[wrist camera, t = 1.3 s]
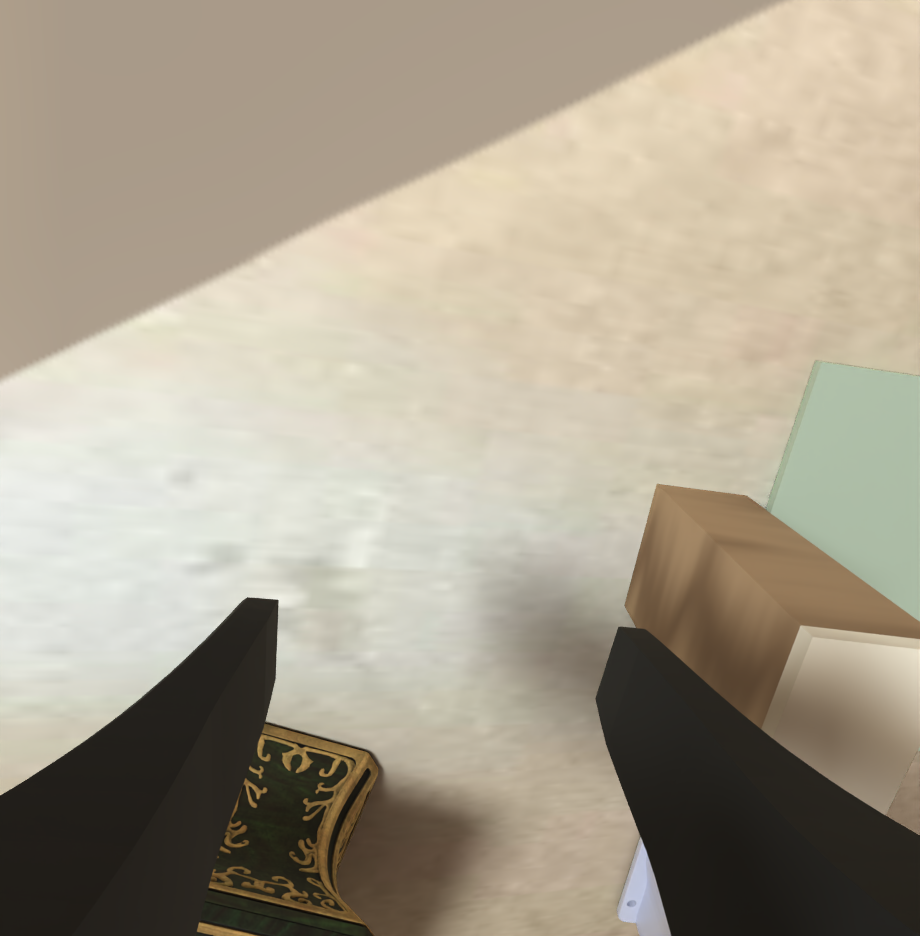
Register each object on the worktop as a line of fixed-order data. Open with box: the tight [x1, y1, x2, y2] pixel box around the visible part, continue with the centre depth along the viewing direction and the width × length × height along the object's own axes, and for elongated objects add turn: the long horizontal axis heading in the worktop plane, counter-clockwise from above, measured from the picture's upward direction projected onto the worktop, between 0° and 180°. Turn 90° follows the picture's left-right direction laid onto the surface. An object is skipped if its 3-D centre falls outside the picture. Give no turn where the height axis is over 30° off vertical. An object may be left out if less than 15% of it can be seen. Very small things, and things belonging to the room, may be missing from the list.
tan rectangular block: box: [625, 484, 920, 816], centre depth 20 cm, size 6×4×11 cm, turn 172°
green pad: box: [766, 361, 920, 751], centre depth 26 cm, size 18×16×1 cm
